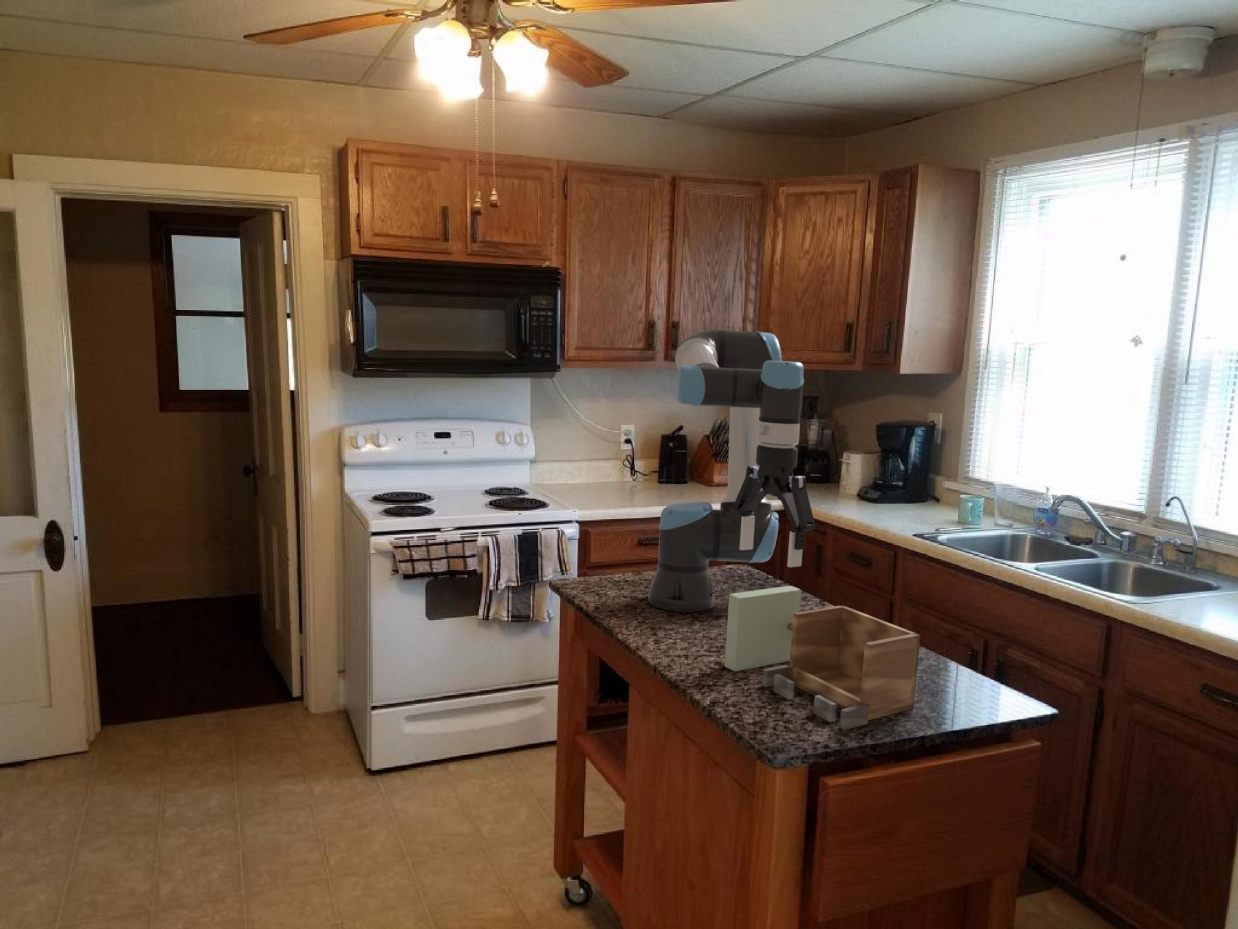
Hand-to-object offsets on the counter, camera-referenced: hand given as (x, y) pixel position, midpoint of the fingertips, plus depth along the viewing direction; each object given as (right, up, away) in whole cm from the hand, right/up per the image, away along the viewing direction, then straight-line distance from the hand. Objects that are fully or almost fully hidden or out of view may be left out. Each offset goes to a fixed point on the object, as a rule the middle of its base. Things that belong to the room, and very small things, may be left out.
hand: (769, 557), depth 167 cm
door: (-1, -20, +3) cm, 21 cm away
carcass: (+10, -23, -13) cm, 28 cm away
